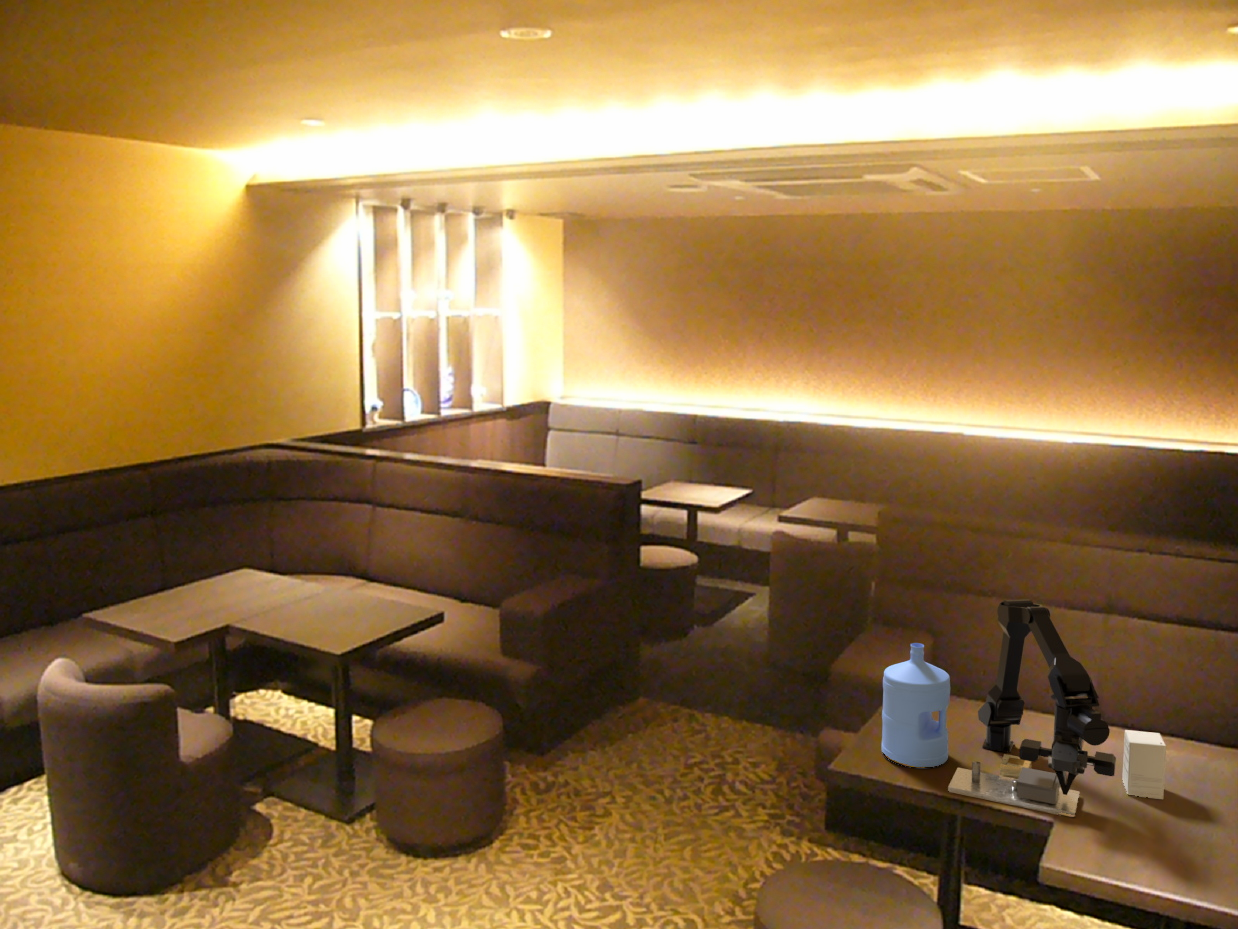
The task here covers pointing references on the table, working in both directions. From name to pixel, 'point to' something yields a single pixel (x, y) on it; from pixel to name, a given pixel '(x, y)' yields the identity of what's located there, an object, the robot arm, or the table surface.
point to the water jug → (915, 711)
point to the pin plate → (1006, 791)
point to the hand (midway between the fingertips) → (1065, 794)
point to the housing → (1038, 785)
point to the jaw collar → (1013, 766)
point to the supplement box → (1144, 764)
